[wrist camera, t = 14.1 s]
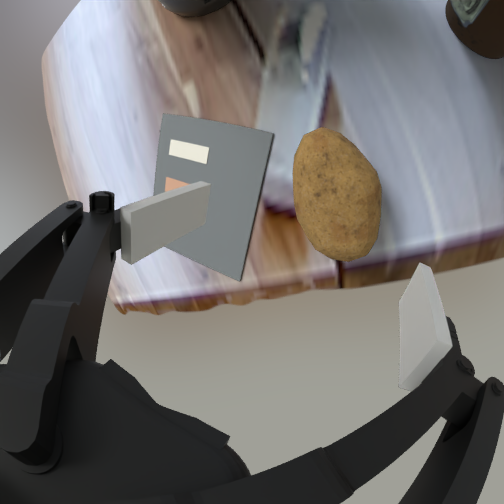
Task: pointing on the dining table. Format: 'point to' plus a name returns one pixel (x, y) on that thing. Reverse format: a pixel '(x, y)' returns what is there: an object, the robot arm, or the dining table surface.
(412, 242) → the dining table surface
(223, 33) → the dining table surface
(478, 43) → the olive oil
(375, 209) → the potato
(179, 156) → the tile
